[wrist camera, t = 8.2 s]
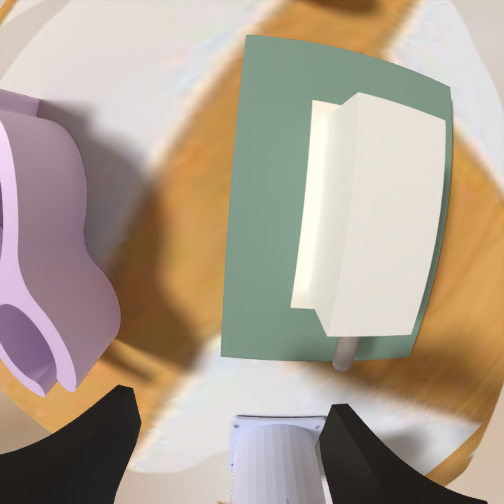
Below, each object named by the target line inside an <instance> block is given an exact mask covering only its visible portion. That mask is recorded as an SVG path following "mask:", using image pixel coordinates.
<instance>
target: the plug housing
mask: <svg viewBox="0 0 504 504" xmlns="http://www.w3.org/2000/svg"><path fill="white" fill-rule="evenodd" d="M445 141H446V125H445V120H443V119H440V118H438V117H435V116H433V115H430V114H427V113H425V112H422V111H419V110H417V109H414V108H411V107H408V106H405V105H402V104H399V103H396V102H393V101H389V100H386V99H383V98H379V97H375V96H372V95H368V94H364V93H360V92H358V93H356V94H355V95H354V96H353V97H351V98H350V99H349V100H347V101H346V102H345V103H344V104H342V105H341V106H340V107H339V108H337V109H336V110H335V111H334V112H332V113H331V114H330V115H329V116H327V117H326V126H325V141H324V154H323V165H322V176H321V187H320V196H319V205H318V214H317V222H316V231H315V238H314V246H313V253H312V260H311V267H310V274H309V280H308V286H307V294H308V296H309V298H310V300H311V303H312V305H313V307H314V309H315V311H316V313H317V315H318V318H319V320H320V322H321V324H322V326H323V328H324V331H325V333H326V335H327V336H336V337H338V341H337V345H336V348H335V352H334V356H333V359H332V364H333V367H334V368H335V369H336V370H338V371H346V370H348V369H349V368H350V367H351V366H352V363H353V360H354V357H355V354H356V351H357V347H358V344H359V341H360V337H361V336H393V335H411V333H412V330H413V327H414V324H415V321H416V317H417V314H418V311H419V308H420V304H421V301H422V297H423V294H424V290H425V286H426V282H427V278H428V274H429V270H430V265H431V261H432V256H433V251H434V246H435V241H436V235H437V229H438V223H439V216H440V209H441V201H442V192H443V181H444V167H445Z"/></svg>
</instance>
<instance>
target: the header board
mask: <svg viewBox="0 0 504 504" xmlns="http://www.w3.org/2000/svg"><path fill="white" fill-rule="evenodd" d="M358 92H360V93H364V94H368V95H372V96H375V97H379V98H383V99H386V100H389V101H393V102H396V103H399V104H402V105H405V106H408V107H411V108H414V109H417V110H419V111H422V112H425V113H427V114H430V115H433V116H435V117H438V118H440V119H443V120H445V125H446V141H445V167H444V181H443V192H442V201H441V209H440V216H439V223H438V229H437V235H436V241H435V246H434V251H433V256H432V261H431V265H430V270H429V274H428V278H427V282H426V286H425V290H424V294H423V297H422V301H421V304H420V308H419V311H418V314H417V317H416V321H415V324H414V327H413V330H412V333H411V335H393V336H361V337H360V341H359V344H358V347H357V351H356V354H355V357H354V360H353V361H357V360H376V359H390V358H402V357H409V355H410V353H411V350H412V347H413V345H414V342H415V339H416V337H417V334H418V331H419V328H420V325H421V322H422V319H423V316H424V313H425V309H426V306H427V303H428V299H429V296H430V292H431V289H432V285H433V281H434V277H435V273H436V269H437V264H438V260H439V255H440V250H441V245H442V240H443V234H444V228H445V222H446V215H447V208H448V199H449V190H450V178H451V162H452V109H451V93H450V87H449V86H447V85H444V84H442V83H440V82H438V81H436V80H434V79H431V78H429V77H427V76H424V75H422V74H420V73H417V72H415V71H412V70H410V69H407V68H404V67H402V66H399V65H396V64H393V63H390V62H387V61H384V60H381V59H378V58H375V57H371V56H368V55H364V54H361V53H357V52H353V51H350V50H345V49H341V48H337V47H332V46H328V45H323V44H318V43H312V42H306V41H300V40H293V39H286V38H277V37H267V36H255V35H246V42H245V50H244V58H243V67H242V76H241V85H240V94H239V104H238V114H237V124H236V134H235V145H234V156H233V167H232V179H231V191H230V204H229V217H228V231H227V246H226V262H225V278H224V296H223V316H222V337H221V357H231V358H244V359H258V360H279V361H332V359H333V356H334V352H335V348H336V345H337V341H338V337H336V336H327V335H326V333H325V331H324V328H323V326H322V324H321V322H320V320H319V318H318V315H317V313H316V311H315V309H314V307H313V305H312V303H311V300H310V298H309V296H308V294H307V286H308V280H309V274H310V267H311V260H312V253H313V246H314V238H315V231H316V222H317V214H318V205H319V196H320V187H321V176H322V165H323V154H324V141H325V126H326V117H327V116H329V115H330V114H331V113H332V112H334V111H335V110H336V109H337V108H339V107H340V106H341V105H342V104H344V103H345V102H346V101H347V100H349V99H350V98H351V97H353V96H354V95H355V94H356V93H358Z"/></svg>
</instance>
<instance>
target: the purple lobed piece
mask: <svg viewBox="0 0 504 504" xmlns="http://www.w3.org/2000/svg"><path fill="white" fill-rule="evenodd" d="M39 104H40V101H39V99H37V98H33V97H29V96H26V95H22V94H18V93H14V92H10V91H6V90H2V89H0V182H1V190H2V202H3V230H2V227H1V224H0V358H1V359H2V361H3V362H4V364H5V365H6V366H7V368H8V369H9V370H10V371H11V373H12V374H13V375H14V376H15V377H16V378H17V379H18V380H19V381H20V382H21V383H22V384H23V385H25V386H26V387H27V388H28V389H30V390H31V391H33V392H34V393H36V394H37V395H39V396H41V397H45V396H46V394H47V393H48V392H49V391H50V389H51V388H52V387H53V386H54V385H55V383H56V382H57V381H58V382H59V383H60V384H61V385H62V386H63V387H64V388H65V389H66V390H68V391H70V392H74V391H75V390H76V389H77V387H78V386H79V385H80V383H81V382H82V381H83V379H84V378H85V377H86V375H87V374H88V373H89V371H90V370H91V369H92V367H93V366H94V365H95V363H96V362H97V361H98V359H99V358H100V357H101V355H102V354H103V353H104V351H105V350H106V349H107V348H108V346H109V345H110V344H111V342H112V341H113V340H114V339H115V337H116V336H117V335H118V332H119V329H120V324H121V311H120V306H119V302H118V298H117V295H116V293H115V290H114V288H113V286H112V284H111V283H110V281H109V279H108V278H107V276H106V275H105V274H104V272H103V271H102V270H101V269H100V268H99V267H98V266H97V265H96V263H95V262H94V261H93V260H92V258H91V257H90V255H89V253H88V251H87V248H86V245H85V240H84V224H85V218H86V210H87V183H86V175H85V169H84V165H83V161H82V157H81V154H80V152H79V149H78V147H77V145H76V143H75V141H74V139H73V138H72V136H71V135H70V134H69V132H68V131H67V130H66V129H65V128H64V127H62V126H61V125H60V124H58V123H56V122H54V121H52V120H48V119H43V118H38V117H37V112H38V108H39Z"/></svg>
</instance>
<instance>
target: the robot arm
mask: <svg viewBox="0 0 504 504" xmlns="http://www.w3.org/2000/svg"><path fill="white" fill-rule="evenodd" d="M141 423H142V422H141V419H140V415H139V411H138V407H137V403H136V399H135V394H134V390H133V388H130V387H126V386H122V385H117V386H116V387H115V388H114V389H112V390H111V391H110V392H109V393H107V394H106V395H105V396H104V397H103V398H101V399H100V400H99V401H98V402H97V403H95V404H94V405H93V406H92V407H90V408H89V409H88V410H87V411H85V412H84V413H83V414H81V415H80V416H79V417H77V418H76V419H75V420H73V421H72V422H70V423H69V424H67V425H66V426H64V427H63V428H61V429H60V430H58V431H57V432H55V433H53V434H51V435H50V436H48V437H46V438H44V439H42V440H40V441H38V442H36V443H33V444H31V445H29V446H26V447H24V448H21V449H18V450H16V451H12V452H9V453H5V454H1V455H0V504H113V503H114V500H115V496H116V492H117V489H118V486H119V484H120V481H121V479H122V477H123V474H124V472H125V469H126V467H127V464H128V462H129V460H130V457H131V455H132V452H133V450H134V448H135V445H136V442H137V438H138V435H139V431H140V427H141ZM318 440H319V441H320V451H321V458H322V463H323V467H324V471H325V475H326V479H327V483H328V486H329V490H330V494H331V498H332V502H333V504H488V503H487V501H484V500H480V499H476V498H472V497H468V496H465V495H462V494H459V493H456V492H454V491H452V490H449V489H447V488H445V487H443V486H441V485H439V484H437V483H435V482H433V481H432V480H430V479H428V478H426V477H425V476H423V475H422V474H420V473H419V472H417V471H416V470H414V469H413V468H412V467H410V466H409V465H407V464H406V463H405V462H404V461H402V460H401V459H400V458H399V457H398V456H397V455H395V454H394V453H393V452H392V451H391V450H390V449H389V448H388V447H387V446H386V445H385V444H384V443H383V442H382V441H381V440H380V439H379V438H378V437H377V436H376V435H375V434H374V433H373V432H372V431H371V430H370V429H369V427H368V426H367V425H366V424H365V423H364V422H363V421H362V420H361V418H360V417H359V416H358V415H357V414H356V413H355V412H354V410H353V409H352V408H351V407H350V406H349V405H348V404H333V405H332V406H331V409H330V411H329V414H328V417H327V419H326V421H325V419H324V418H323V417H314V418H259V417H241V416H236V417H233V418H232V422H231V437H230V452H229V468H228V469H229V470H230V471H233V479H232V498H231V504H326V501H325V496H324V491H323V486H322V481H321V476H320V471H319V466H318V461H317V456H316V451H315V446H316V444H317V442H318Z"/></svg>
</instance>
